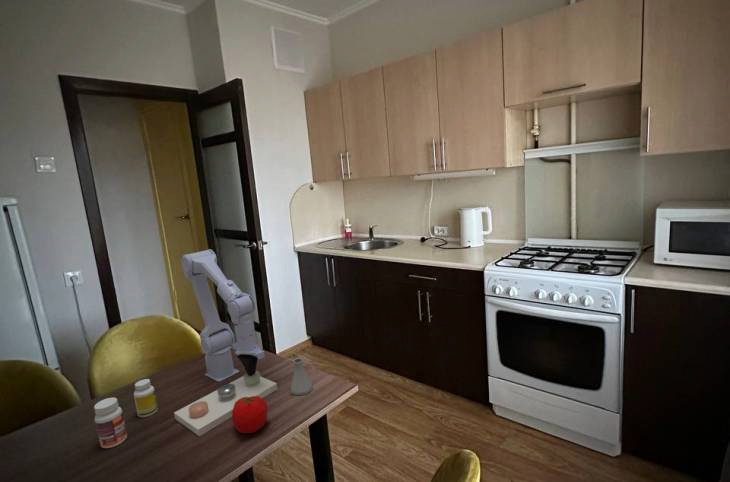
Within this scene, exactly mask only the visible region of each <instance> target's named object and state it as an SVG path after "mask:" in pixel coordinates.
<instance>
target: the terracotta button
mask: <svg viewBox="0 0 730 482" xmlns="http://www.w3.org/2000/svg"><path fill="white" fill-rule="evenodd" d="M207 412H208V403H207V402H205V401H201V402H197V403H194V404H193V405H191V406H190V407H189V415H190V417H193V418H195V417H200V416H202V415H204V414H206V413H207Z"/></svg>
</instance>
